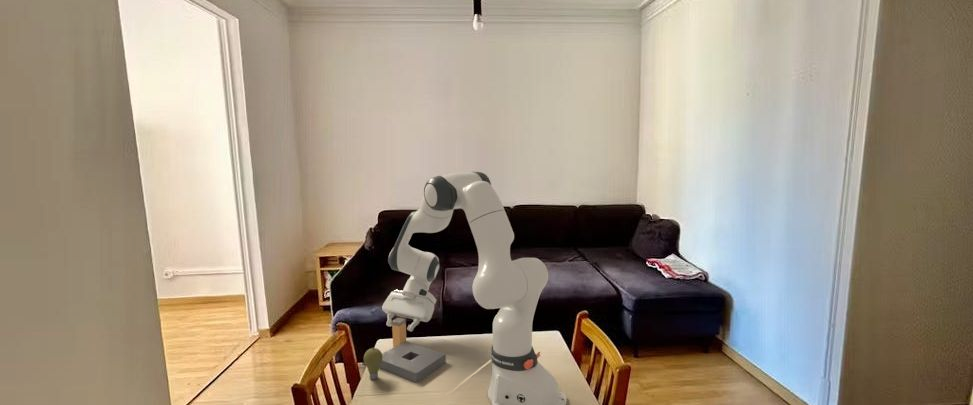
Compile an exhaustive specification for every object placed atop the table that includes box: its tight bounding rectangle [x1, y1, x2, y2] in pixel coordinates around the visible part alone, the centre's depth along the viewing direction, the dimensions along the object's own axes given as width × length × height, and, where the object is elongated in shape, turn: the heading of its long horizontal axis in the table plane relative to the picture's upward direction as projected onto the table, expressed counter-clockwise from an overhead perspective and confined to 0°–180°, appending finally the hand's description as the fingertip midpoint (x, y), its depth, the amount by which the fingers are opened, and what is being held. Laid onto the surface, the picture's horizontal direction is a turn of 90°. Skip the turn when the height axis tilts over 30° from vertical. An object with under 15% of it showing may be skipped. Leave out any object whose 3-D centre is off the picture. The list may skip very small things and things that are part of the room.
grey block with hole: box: [379, 340, 447, 384], centre depth 138 cm, size 18×14×4 cm
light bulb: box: [363, 347, 383, 381], centre depth 130 cm, size 6×6×10 cm
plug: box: [391, 316, 407, 348], centre depth 151 cm, size 3×4×10 cm
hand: (398, 328), depth 151 cm, fingers open, 8 cm apart
